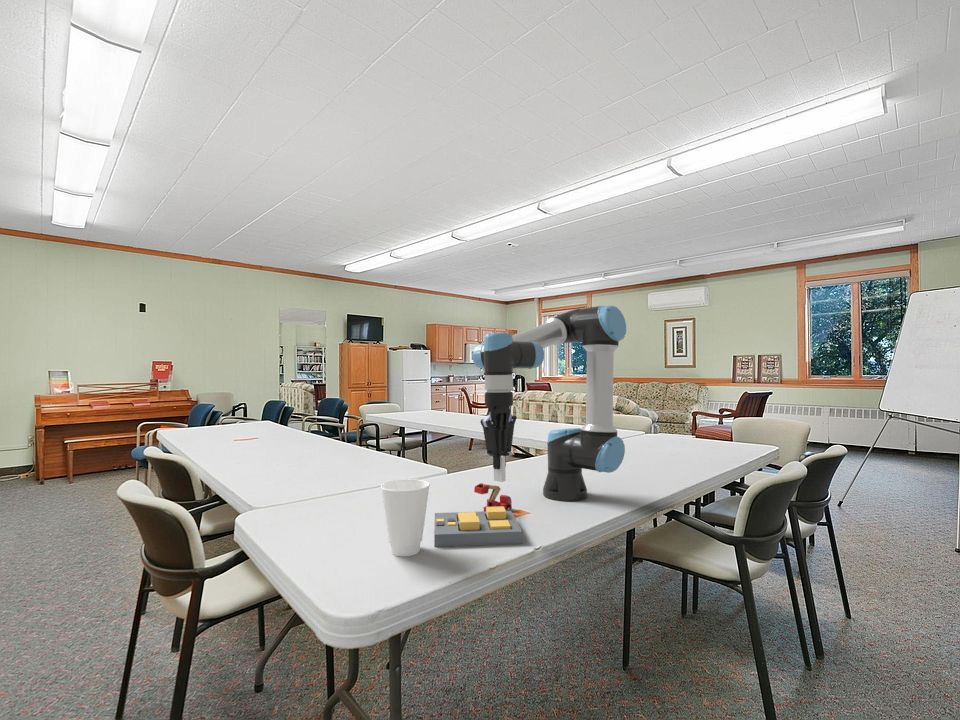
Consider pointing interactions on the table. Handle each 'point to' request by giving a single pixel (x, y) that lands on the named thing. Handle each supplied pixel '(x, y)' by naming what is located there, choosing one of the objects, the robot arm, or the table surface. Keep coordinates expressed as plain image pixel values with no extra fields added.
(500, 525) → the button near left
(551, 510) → the table surface
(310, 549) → the table surface
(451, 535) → the board
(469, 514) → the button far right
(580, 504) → the table surface
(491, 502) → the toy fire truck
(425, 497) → the cup
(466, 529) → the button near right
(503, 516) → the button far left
